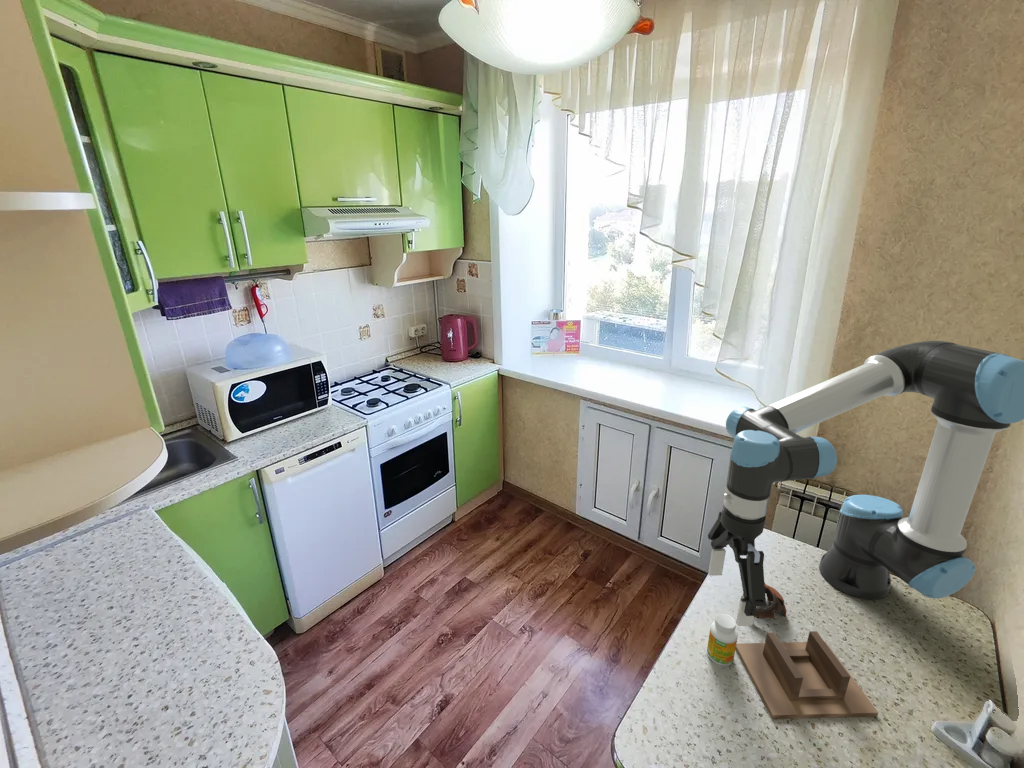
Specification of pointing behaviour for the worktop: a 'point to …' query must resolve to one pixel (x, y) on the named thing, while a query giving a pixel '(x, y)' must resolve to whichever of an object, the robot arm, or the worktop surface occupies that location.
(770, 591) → the pottery mug
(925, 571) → the robot arm
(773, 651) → the wooden cradle tray
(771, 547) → the worktop surface
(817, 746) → the worktop surface
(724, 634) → the supplement bottle
